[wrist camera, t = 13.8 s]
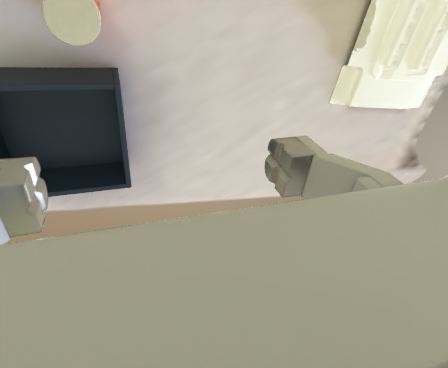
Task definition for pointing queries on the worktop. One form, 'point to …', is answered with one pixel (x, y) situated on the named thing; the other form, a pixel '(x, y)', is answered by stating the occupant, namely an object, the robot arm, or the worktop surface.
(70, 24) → the tube
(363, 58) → the tray
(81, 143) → the basket
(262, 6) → the worktop surface
